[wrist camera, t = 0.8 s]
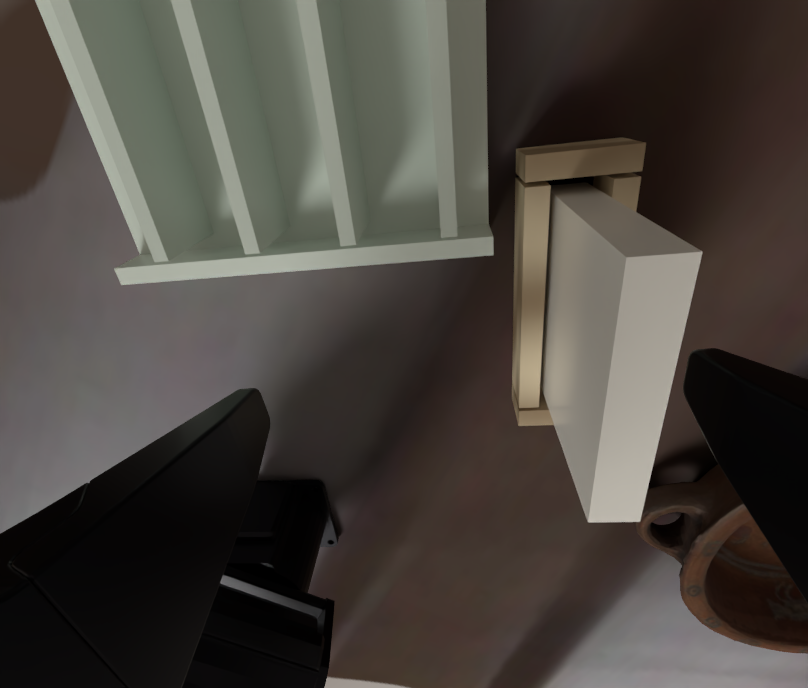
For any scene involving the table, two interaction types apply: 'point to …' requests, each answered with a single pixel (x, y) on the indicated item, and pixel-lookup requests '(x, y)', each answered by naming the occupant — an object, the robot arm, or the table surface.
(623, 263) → the white slab
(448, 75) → the rack
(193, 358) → the table surface
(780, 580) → the dish
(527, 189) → the stand
